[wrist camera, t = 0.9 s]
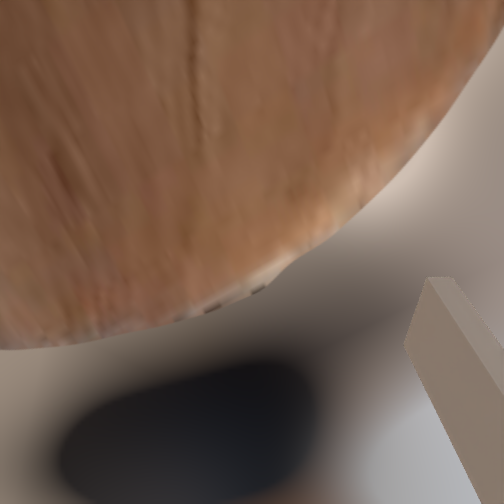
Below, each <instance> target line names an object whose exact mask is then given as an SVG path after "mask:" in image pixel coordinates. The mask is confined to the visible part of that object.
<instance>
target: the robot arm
mask: <svg viewBox="0 0 504 504" xmlns="http://www.w3.org/2000/svg"><path fill="white" fill-rule="evenodd" d="M404 347H405V349H406V351H407V353H408V355H409V357H410V359H411V361H412V363H413V365H414V367H415V369H416V371H417V373H418V376H419V378H420V380H421V381H422V384H423V386H424V388H425V390H426V392H427V394H428V396H429V398H430V400H431V402H432V404H433V406H434V408H435V410H436V412H437V414H438V416H439V418H440V420H441V422H442V424H443V426H444V428H445V430H446V432H447V434H448V436H449V438H450V440H451V442H452V445H453V447H454V449H455V451H456V453H457V455H458V457H459V459H460V461H461V463H462V465H463V467H464V469H465V471H466V473H467V475H468V477H469V479H470V481H471V483H472V485H473V487H474V489H475V491H476V493H477V495H478V497H479V499H480V501H481V504H504V349H503V347H502V346H501V345H500V343H499V342H498V341H497V339H496V338H495V336H494V335H493V334H492V332H491V331H490V330H489V328H488V326H487V325H486V324H485V322H484V321H483V320H482V318H481V317H480V315H479V314H478V313H477V311H476V310H475V308H474V307H473V306H472V304H471V303H470V301H469V300H468V299H467V297H466V296H465V294H464V293H463V292H462V290H461V289H460V287H459V286H458V285H457V283H456V282H455V281H454V279H453V278H452V277H427V278H426V281H425V284H424V287H423V290H422V293H421V296H420V299H419V301H418V304H417V307H416V310H415V313H414V316H413V319H412V322H411V325H410V328H409V331H408V333H407V336H406V339H405V342H404Z"/></svg>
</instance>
